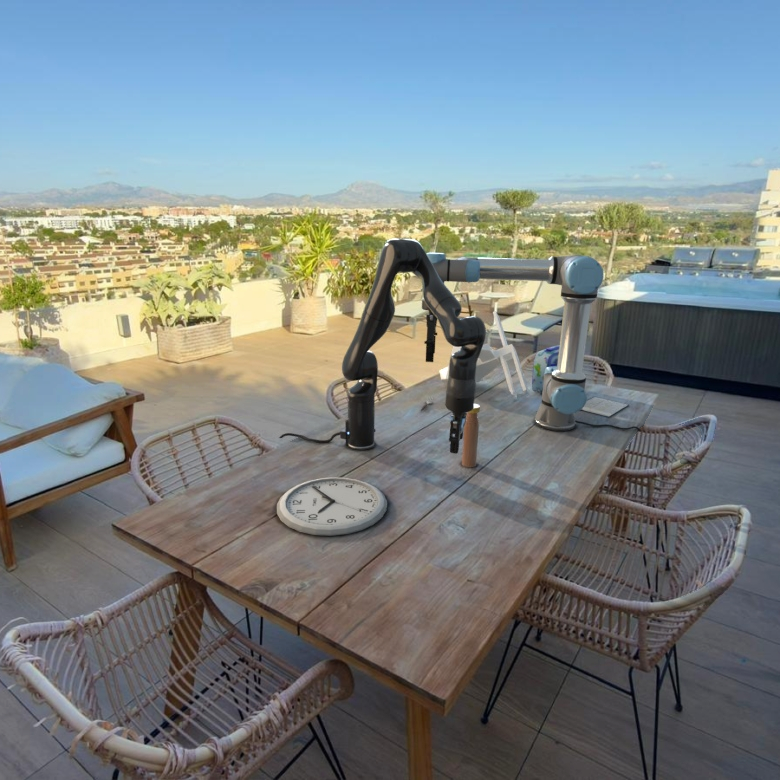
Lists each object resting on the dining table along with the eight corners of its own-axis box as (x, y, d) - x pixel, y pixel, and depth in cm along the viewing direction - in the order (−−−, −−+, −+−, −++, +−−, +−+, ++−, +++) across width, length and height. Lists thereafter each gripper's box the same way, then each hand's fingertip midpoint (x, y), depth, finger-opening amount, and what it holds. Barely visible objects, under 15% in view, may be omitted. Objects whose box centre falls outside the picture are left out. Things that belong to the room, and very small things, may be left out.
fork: (417, 411, 216) (418, 406, 216) (428, 400, 231) (428, 395, 230) (423, 412, 215) (424, 407, 215) (434, 400, 230) (434, 396, 229)
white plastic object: (461, 429, 252) (437, 405, 227) (444, 352, 274) (420, 323, 250) (535, 404, 240) (518, 377, 215) (510, 326, 262) (492, 293, 237)
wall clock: (392, 527, 129) (268, 531, 127) (391, 533, 130) (269, 537, 127) (383, 473, 158) (282, 475, 155) (383, 478, 158) (282, 480, 156)
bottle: (467, 468, 166) (471, 410, 160) (458, 462, 170) (462, 405, 164) (478, 465, 168) (483, 407, 162) (470, 460, 172) (474, 403, 166)
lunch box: (548, 398, 236) (553, 353, 229) (527, 393, 243) (531, 349, 237) (575, 387, 253) (581, 344, 247) (555, 382, 260) (560, 341, 254)
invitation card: (608, 416, 214) (573, 407, 224) (608, 416, 214) (573, 408, 224) (628, 404, 229) (594, 396, 238) (628, 405, 229) (594, 397, 238)
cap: (471, 414, 161) (471, 408, 160) (462, 410, 164) (463, 404, 164) (482, 412, 163) (482, 406, 162) (473, 408, 166) (474, 402, 166)
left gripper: (450, 380, 146) (447, 432, 152) (442, 399, 133) (438, 455, 139) (477, 383, 144) (472, 436, 150) (471, 403, 131) (466, 459, 137)
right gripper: (424, 293, 195) (422, 349, 202) (419, 302, 172) (417, 365, 178) (444, 294, 195) (441, 350, 201) (442, 303, 171) (439, 366, 177)
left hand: (456, 445), depth 145 cm, fingers open, 8 cm apart
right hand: (430, 357), depth 190 cm, fingers open, 13 cm apart
